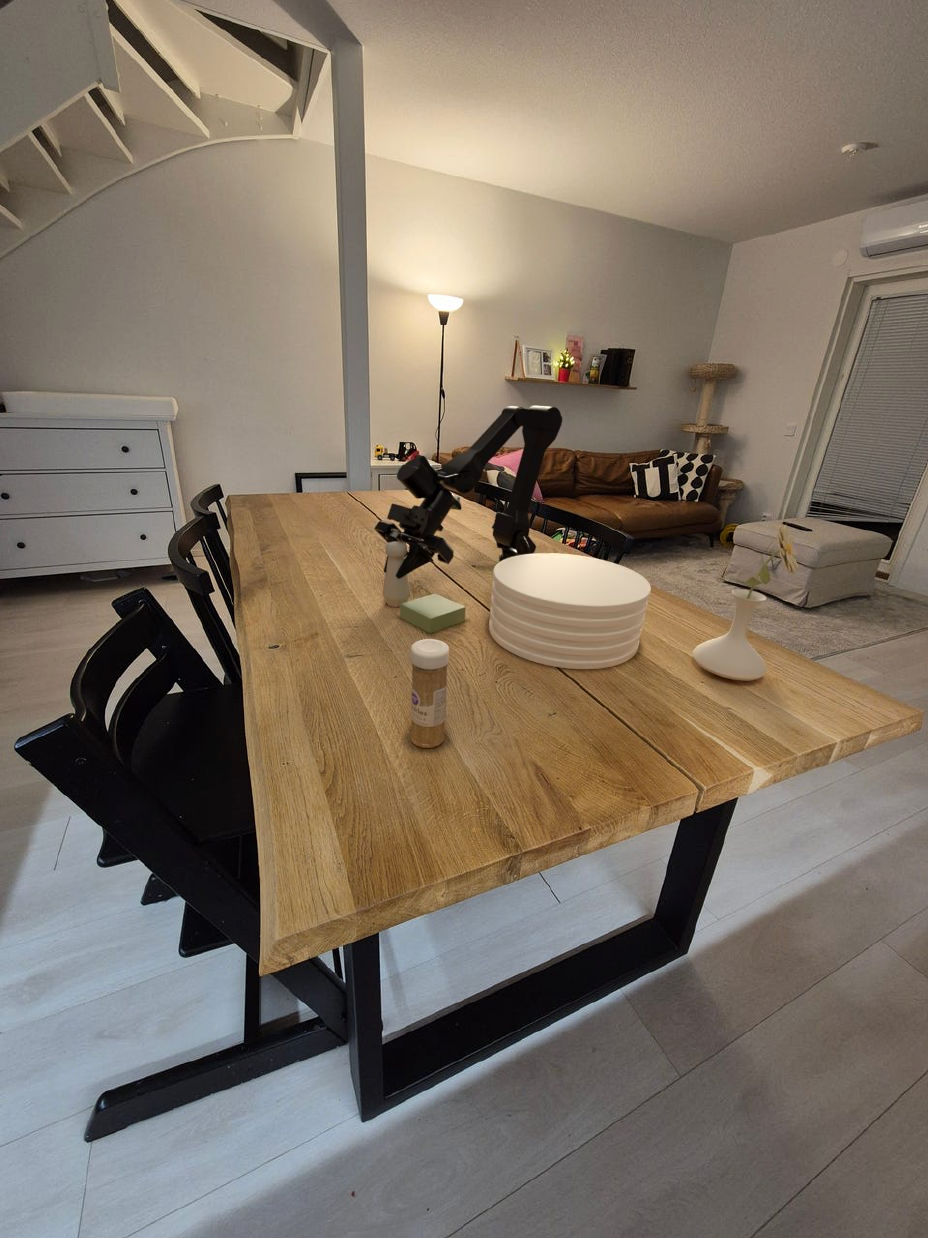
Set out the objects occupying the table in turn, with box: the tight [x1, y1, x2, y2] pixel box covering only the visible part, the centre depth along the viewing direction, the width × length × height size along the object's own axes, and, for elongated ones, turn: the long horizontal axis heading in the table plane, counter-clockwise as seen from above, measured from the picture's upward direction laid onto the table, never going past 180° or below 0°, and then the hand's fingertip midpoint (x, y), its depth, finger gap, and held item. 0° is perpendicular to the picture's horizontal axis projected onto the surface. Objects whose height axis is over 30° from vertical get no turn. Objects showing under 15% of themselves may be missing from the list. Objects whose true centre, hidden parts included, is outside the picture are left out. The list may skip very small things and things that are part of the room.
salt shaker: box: [382, 542, 411, 608], centre depth 102 cm, size 6×6×13 cm
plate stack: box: [488, 552, 652, 670], centre depth 93 cm, size 28×28×12 cm
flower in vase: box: [692, 523, 799, 681], centre depth 81 cm, size 13×11×25 cm
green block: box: [399, 593, 467, 634], centre depth 98 cm, size 9×9×3 cm
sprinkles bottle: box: [409, 638, 450, 749], centre depth 62 cm, size 5×5×14 cm
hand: (391, 575), depth 101 cm, fingers closed on salt shaker, 3 cm apart
